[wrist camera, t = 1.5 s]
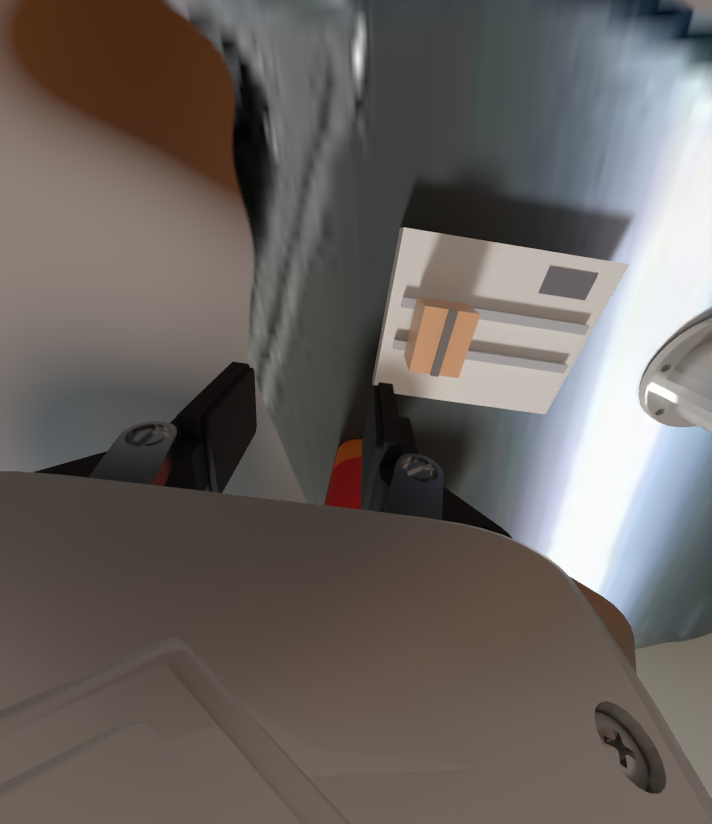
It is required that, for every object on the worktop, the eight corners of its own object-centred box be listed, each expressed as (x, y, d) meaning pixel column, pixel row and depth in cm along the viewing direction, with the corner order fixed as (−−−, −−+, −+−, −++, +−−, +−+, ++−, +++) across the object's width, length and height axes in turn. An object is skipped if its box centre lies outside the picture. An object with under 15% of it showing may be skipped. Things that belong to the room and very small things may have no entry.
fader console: (602, 261, 26) (636, 265, 22) (531, 400, 33) (549, 418, 30) (399, 227, 25) (405, 226, 22) (372, 378, 32) (373, 394, 29)
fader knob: (462, 301, 25) (482, 315, 21) (444, 357, 27) (459, 379, 23) (415, 294, 25) (426, 306, 20) (402, 351, 27) (409, 372, 23)
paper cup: (370, 485, 40) (372, 591, 28) (318, 465, 39) (297, 569, 27) (399, 445, 37) (416, 547, 25) (343, 421, 35) (332, 518, 23)
